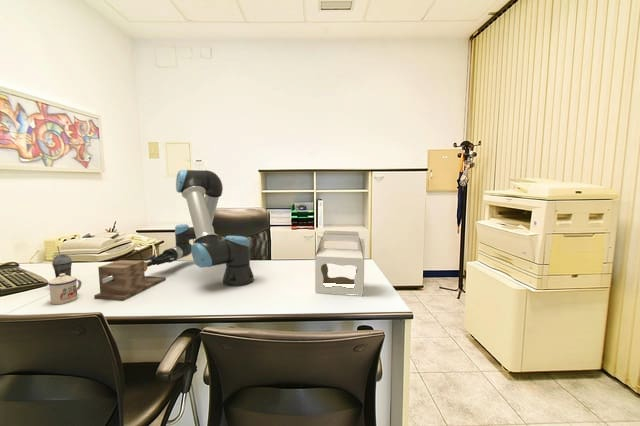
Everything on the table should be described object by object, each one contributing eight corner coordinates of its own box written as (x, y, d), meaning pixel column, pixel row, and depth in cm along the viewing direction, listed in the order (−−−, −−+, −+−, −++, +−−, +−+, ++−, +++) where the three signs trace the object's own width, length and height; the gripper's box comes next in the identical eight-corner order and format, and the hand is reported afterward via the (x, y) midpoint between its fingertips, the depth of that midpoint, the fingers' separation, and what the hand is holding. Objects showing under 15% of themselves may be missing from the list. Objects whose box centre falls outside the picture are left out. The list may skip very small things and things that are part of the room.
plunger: (136, 272, 145) (136, 260, 144) (147, 272, 144) (146, 260, 144) (97, 287, 124) (96, 273, 123) (110, 288, 123) (109, 274, 122)
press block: (141, 278, 154) (139, 253, 152) (165, 280, 151) (164, 254, 150) (94, 298, 127) (92, 268, 126) (123, 300, 125) (120, 269, 123)
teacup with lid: (62, 305, 120) (59, 278, 119) (44, 303, 122) (41, 276, 120) (90, 294, 131) (88, 269, 130) (73, 293, 133) (71, 268, 132)
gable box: (314, 293, 135) (314, 232, 132) (319, 283, 148) (319, 228, 145) (363, 296, 131) (364, 234, 128) (364, 286, 144) (365, 229, 141)
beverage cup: (77, 285, 143) (74, 244, 141) (59, 290, 137) (55, 247, 135) (69, 282, 146) (65, 243, 144) (51, 287, 140) (47, 246, 138)
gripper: (183, 261, 167) (153, 274, 144) (162, 260, 169) (129, 273, 146) (182, 248, 166) (152, 259, 143) (161, 247, 168) (128, 258, 145)
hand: (140, 266), depth 145 cm, fingers closed
